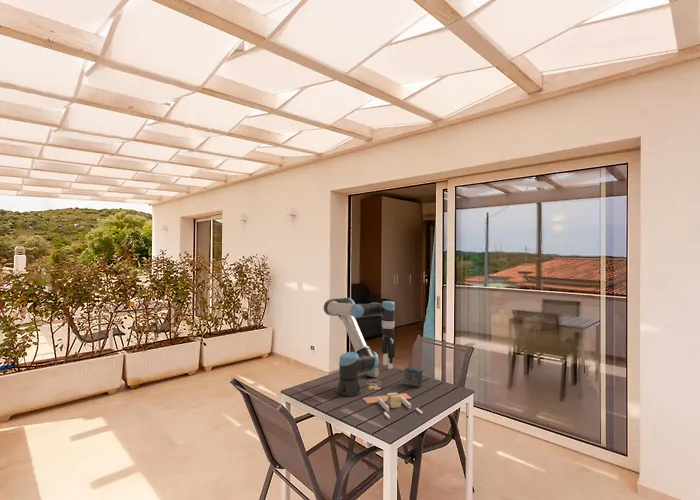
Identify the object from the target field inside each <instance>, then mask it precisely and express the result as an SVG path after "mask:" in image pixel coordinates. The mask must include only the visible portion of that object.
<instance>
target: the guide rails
mask: <svg viewBox="0 0 700 500" xmlns="http://www.w3.org/2000/svg"><path fill="white" fill-rule="evenodd" d="M400 396H401V395H400ZM378 404H379V405H380V406H381V407H382V408H383V409H384V410H385V412H386V413H388V412H390V406H389V405H388V404H387V402H384V401H383V400H382V399H381V398H380V397H378ZM401 404H403V405H404V406H405V407H406V408H407V409H408V410H411V409H412V403H410V402H409V401H408V399H404V398H403V397H402V396H401Z"/></svg>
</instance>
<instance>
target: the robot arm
mask: <svg viewBox="0 0 700 500" xmlns="http://www.w3.org/2000/svg"><path fill="white" fill-rule="evenodd" d="M323 311H324V313H325V314H326V315H328V316H332V317H334V316H336V317H337V316H338V319H339V320H340V321H341V322H342V323H343V326H344V327H345V329H346V332H347V335H348V338H349V339H350V342H351V344H352V347H353V350H354V351H351V352H350V351H347V352H345V353H343V354H341V355H340V357H339V361H338V364H339V367H338V368H339V369H338V371H339V374H338V375H339V379H338V381H337V385H336V388H335V389H336V391H335V392H336V394H337V395H339V396H341V397H348V398H349V397H357V396H359V395H361V392H362V389H361V385H360V381H359V374H363V373H364V374H365V372H370V371H373V370H375V369H376V368H378V366H379V363H380V360H379V355H378V353H377V352H376V351H373V350H372V348H371V347H370V346H368V345H367V342H366V340H365V338H364V336H363V333H362V331H361V328H360V327H359V324H358V321H357V319H356V318H365V317H373V316H374V317H375V316H376V317H377V316H379V317H381V334H382V335H381V352H382V365H383V366H387V369H388V370H390V369H393V367H394V360H393V359H394V358H395V357H396V354H395V341H396V340H395V339H393V336H394V335H395V326H396V325H395V324H396V323H395V322H396V315H395V314H396V313H395V312H396V305H395V301H391V300H385V301H382V303H380V302H377V301H376V302H371V303H355V300H353V299H352V298H351V297H342V298H330V299H328V300H326V301H325V302H324V304H323Z"/></svg>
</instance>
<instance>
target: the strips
mask: <svg viewBox="0 0 700 500" xmlns="http://www.w3.org/2000/svg"><path fill="white" fill-rule="evenodd" d="M415 411H416V412H418V413H419V414H420V415H423V414H424V413H423V411H422V410H421V409H420V408H418V407H415ZM383 415H384V416H385V417H386V418H387V419H391V416H390V415H389V414H388V412H387V411H383Z"/></svg>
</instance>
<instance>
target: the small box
mask: <svg viewBox="0 0 700 500" xmlns="http://www.w3.org/2000/svg"><path fill="white" fill-rule="evenodd" d="M408 385H409V387H413V386H414V387H413V388H418V387H419V388H420V386H421V387H422V386H423V369H422V368H416V367H410V366H407V367H405V368H404V386H408Z"/></svg>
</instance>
